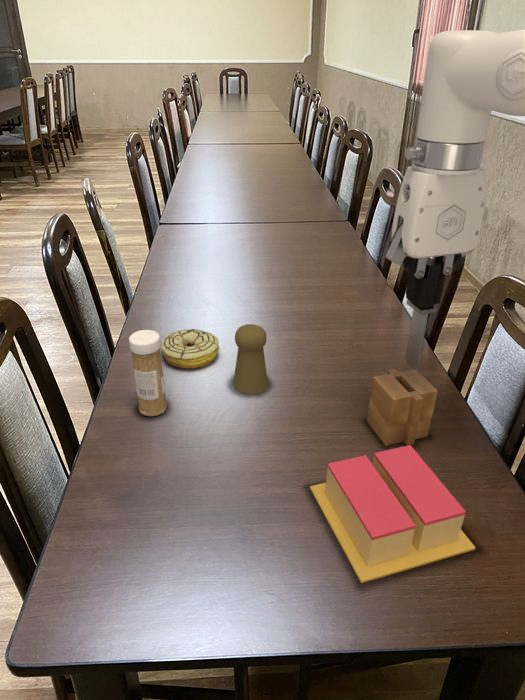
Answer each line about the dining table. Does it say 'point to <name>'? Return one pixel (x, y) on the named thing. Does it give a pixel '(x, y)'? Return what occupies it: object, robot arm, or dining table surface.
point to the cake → (391, 513)
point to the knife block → (401, 406)
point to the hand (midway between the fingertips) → (422, 300)
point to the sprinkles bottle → (148, 372)
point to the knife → (422, 314)
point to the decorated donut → (189, 348)
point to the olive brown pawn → (250, 360)
